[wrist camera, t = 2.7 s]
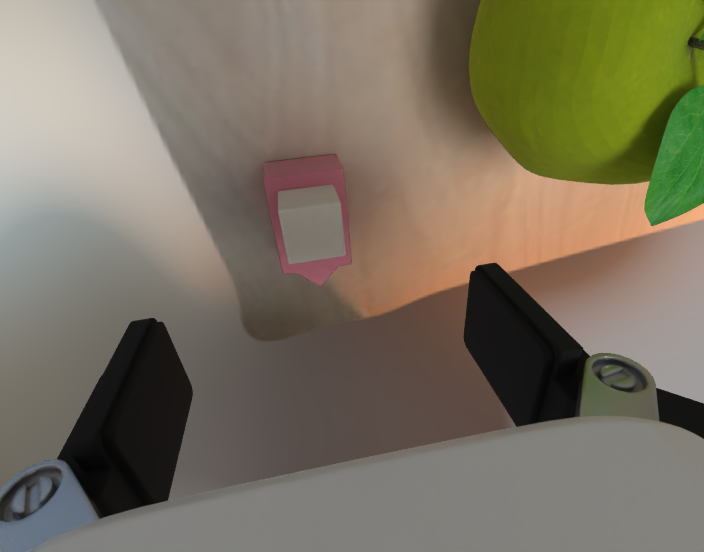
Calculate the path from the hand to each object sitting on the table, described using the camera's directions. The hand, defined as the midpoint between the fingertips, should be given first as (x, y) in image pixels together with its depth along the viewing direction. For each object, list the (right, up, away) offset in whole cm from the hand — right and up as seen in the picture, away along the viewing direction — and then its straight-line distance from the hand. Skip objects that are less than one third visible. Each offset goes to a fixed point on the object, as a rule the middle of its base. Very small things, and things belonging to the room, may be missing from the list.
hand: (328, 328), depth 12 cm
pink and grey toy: (-2, +5, +7) cm, 9 cm away
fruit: (+9, +12, +5) cm, 16 cm away
